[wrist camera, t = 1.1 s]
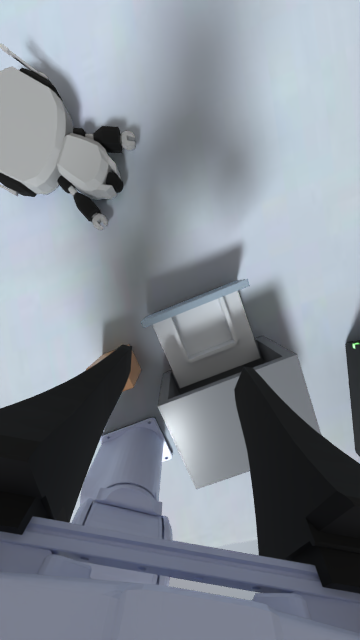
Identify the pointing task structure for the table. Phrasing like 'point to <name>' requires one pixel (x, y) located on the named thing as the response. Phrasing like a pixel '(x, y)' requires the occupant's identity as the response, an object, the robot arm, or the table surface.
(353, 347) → the game console
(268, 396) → the robot arm
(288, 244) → the table surface
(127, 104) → the table surface
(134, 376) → the block
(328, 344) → the table surface
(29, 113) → the robot toy
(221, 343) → the blue-grey sliding drawer
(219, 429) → the gray drawer box
